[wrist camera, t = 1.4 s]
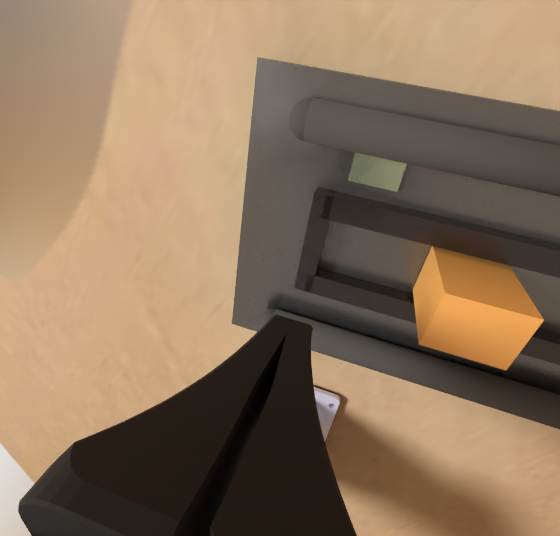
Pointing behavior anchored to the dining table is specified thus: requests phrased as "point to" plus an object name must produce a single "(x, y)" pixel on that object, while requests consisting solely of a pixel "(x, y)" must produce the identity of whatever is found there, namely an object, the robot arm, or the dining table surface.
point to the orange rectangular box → (473, 308)
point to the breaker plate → (387, 217)
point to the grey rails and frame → (448, 158)
